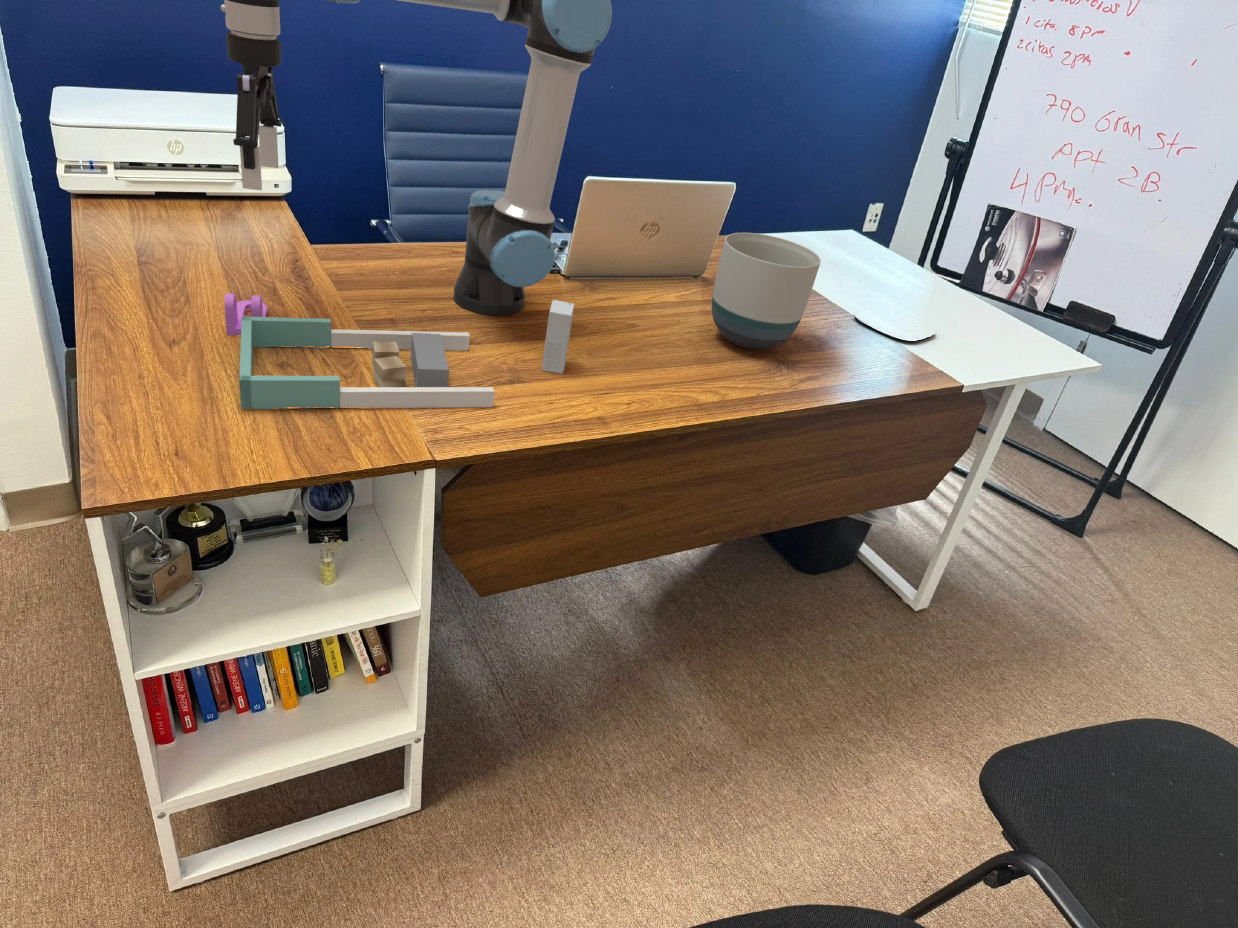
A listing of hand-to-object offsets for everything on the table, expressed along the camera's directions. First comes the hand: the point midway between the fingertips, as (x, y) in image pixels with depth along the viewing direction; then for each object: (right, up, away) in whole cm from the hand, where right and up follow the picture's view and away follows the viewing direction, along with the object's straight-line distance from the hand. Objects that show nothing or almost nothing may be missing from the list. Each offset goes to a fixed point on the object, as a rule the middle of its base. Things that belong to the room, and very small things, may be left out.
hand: (261, 177), depth 138 cm
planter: (+87, -20, +49) cm, 102 cm away
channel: (+22, -31, +8) cm, 40 cm away
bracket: (-9, -21, +15) cm, 27 cm away
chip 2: (+20, -33, +5) cm, 39 cm away
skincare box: (+46, -29, +22) cm, 58 cm away
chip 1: (+18, -30, +9) cm, 36 cm away
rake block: (+25, -32, +10) cm, 42 cm away
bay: (+4, -32, +1) cm, 32 cm away
